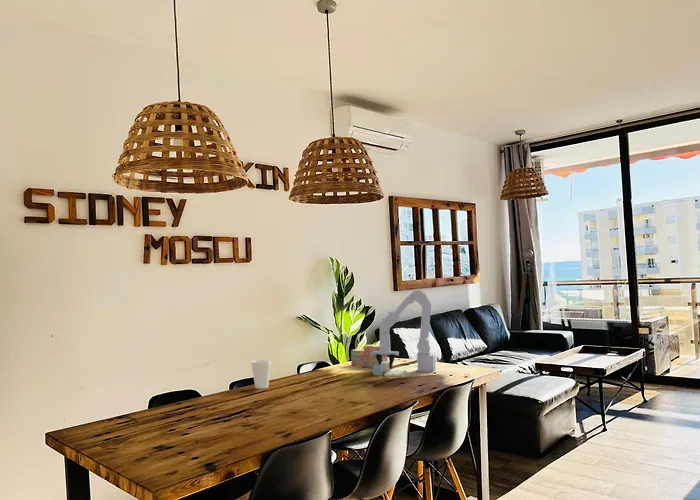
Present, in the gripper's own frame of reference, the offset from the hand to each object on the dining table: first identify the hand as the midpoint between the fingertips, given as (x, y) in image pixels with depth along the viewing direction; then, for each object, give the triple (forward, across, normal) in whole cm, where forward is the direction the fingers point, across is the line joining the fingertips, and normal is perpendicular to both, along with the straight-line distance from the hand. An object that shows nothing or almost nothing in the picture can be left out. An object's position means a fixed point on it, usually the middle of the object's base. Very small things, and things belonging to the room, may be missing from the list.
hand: (386, 368), depth 291 cm
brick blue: (+2, -2, -8) cm, 8 cm away
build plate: (+2, +7, -7) cm, 10 cm away
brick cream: (+2, 0, 0) cm, 2 cm away
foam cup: (+2, -51, -47) cm, 69 cm away
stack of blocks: (+2, -14, +16) cm, 22 cm away
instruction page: (+2, -6, +3) cm, 7 cm away
